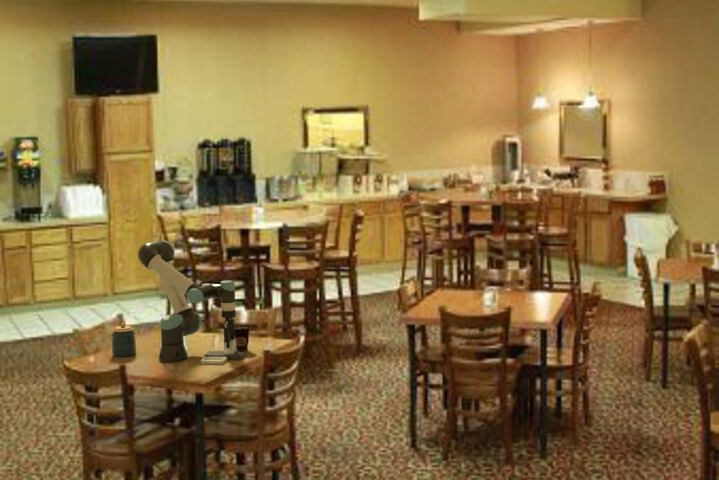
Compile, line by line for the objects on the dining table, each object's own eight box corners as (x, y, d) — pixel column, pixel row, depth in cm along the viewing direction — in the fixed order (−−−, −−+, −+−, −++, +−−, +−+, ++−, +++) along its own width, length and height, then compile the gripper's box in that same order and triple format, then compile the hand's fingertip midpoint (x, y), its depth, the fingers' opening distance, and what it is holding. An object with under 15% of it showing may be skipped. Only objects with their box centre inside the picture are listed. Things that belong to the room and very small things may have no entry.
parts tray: (200, 364, 524) (200, 360, 524) (205, 360, 533) (205, 356, 533) (222, 364, 523) (222, 361, 522) (227, 360, 531) (227, 356, 531)
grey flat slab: (204, 359, 534) (204, 354, 534) (209, 355, 543) (209, 351, 543) (240, 360, 531) (240, 355, 531) (245, 356, 540) (245, 351, 540)
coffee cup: (247, 353, 547) (246, 329, 546) (232, 352, 549) (231, 329, 547) (251, 349, 556) (251, 326, 554) (237, 349, 557) (236, 326, 556)
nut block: (224, 358, 535) (223, 340, 534) (227, 356, 540) (226, 338, 538) (233, 359, 534) (232, 340, 533) (236, 356, 539) (235, 338, 538)
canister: (107, 355, 550) (105, 323, 548) (127, 350, 560) (125, 319, 558) (121, 358, 542) (119, 326, 540) (141, 354, 551) (139, 322, 549)
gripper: (230, 313, 524) (232, 356, 527) (240, 306, 542) (241, 349, 545) (216, 313, 525) (218, 356, 528) (226, 306, 543) (228, 348, 546)
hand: (230, 352), depth 536 cm, fingers closed on nut block, 5 cm apart
